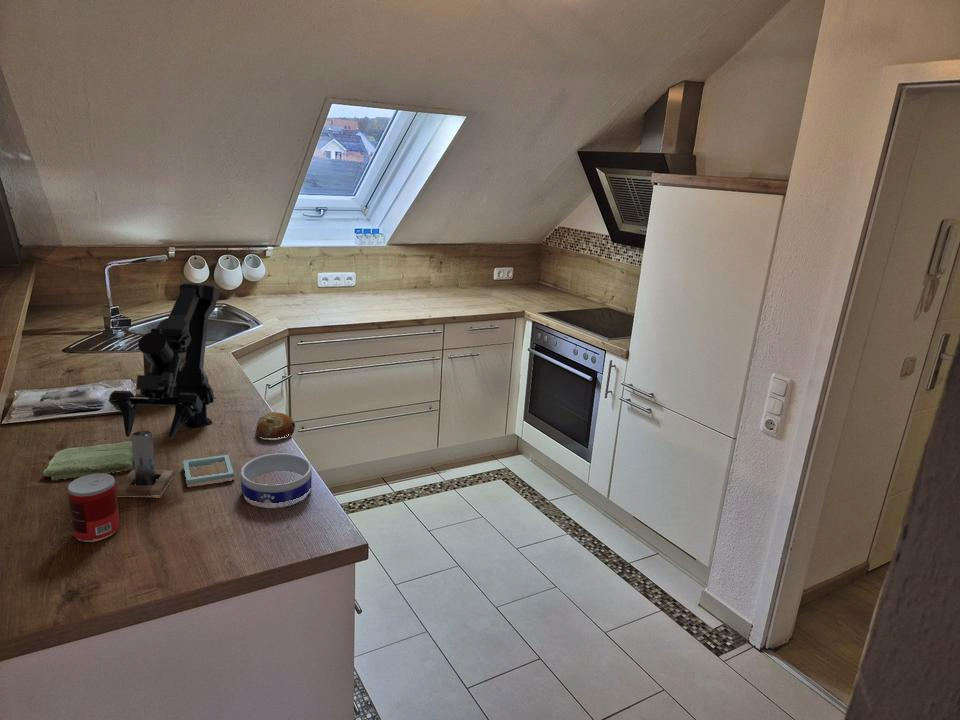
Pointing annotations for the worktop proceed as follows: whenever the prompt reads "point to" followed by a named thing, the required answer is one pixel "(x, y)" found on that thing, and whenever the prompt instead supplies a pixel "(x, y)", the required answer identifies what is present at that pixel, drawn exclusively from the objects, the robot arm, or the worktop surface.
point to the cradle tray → (207, 462)
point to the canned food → (93, 506)
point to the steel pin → (143, 458)
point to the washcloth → (90, 460)
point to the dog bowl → (277, 491)
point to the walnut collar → (144, 490)
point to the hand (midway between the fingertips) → (149, 436)
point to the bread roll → (275, 425)
